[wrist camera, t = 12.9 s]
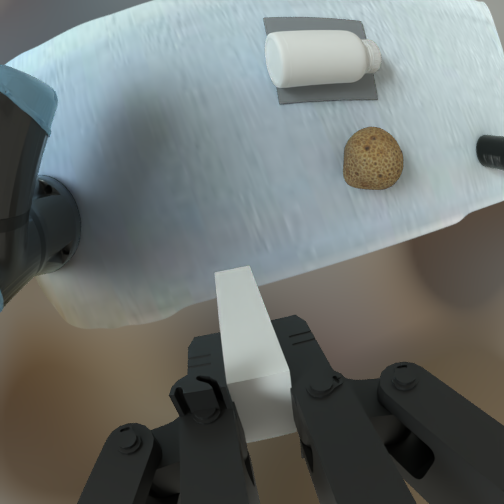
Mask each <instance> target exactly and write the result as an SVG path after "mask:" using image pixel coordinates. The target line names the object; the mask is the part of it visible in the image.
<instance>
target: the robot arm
mask: <svg viewBox="0 0 504 504" xmlns="http://www.w3.org/2000/svg"><path fill="white" fill-rule="evenodd" d="M57 104H58V98H57V95H56V92H55V91H54V90H53V89H52V88H51V87H50V86H49V85H48V84H46V83H44V82H43V81H41V80H39V79H37V78H35V77H33V76H31V75H29V74H26V73H24V72H22V71H19V70H17V69H14V68H12V67H9V66H6V65H0V312H1V311H2V309H3V308H4V306H5V305H6V304H7V303H8V302H9V301H10V300H11V299H12V298H13V297H14V296H15V295H16V294H17V293H18V292H19V291H20V290H21V289H22V288H23V287H24V286H25V285H26V284H27V283H28V282H29V281H30V280H31V279H32V278H33V277H34V276H37V275H42V274H46V273H51V272H53V271H56V270H57V269H59V268H61V267H62V266H63V265H64V264H65V263H66V262H67V261H68V260H69V259H70V258H71V257H72V256H73V254H74V253H75V251H76V249H77V246H78V243H79V239H80V233H81V222H80V215H79V211H78V208H77V205H76V203H75V201H74V199H73V197H72V195H71V194H70V192H69V191H68V190H67V189H66V187H65V186H64V185H63V184H61V183H60V182H59V181H57V180H55V179H53V178H51V177H48V176H42V175H38V172H39V168H40V164H41V160H42V157H43V153H44V149H45V146H46V143H47V139H48V137H50V134H51V130H50V128H51V125H52V121H53V118H54V114H55V111H56V108H57ZM214 274H215V284H216V294H217V304H218V313H219V323H220V332H219V333H214V334H210V335H204V336H198V337H194V339H193V341H192V342H191V344H190V346H189V347H188V375H186V376H185V377H183V378H181V379H180V380H178V381H177V382H176V383H175V384H174V385H173V386H172V388H171V391H170V394H169V396H170V398H171V400H172V402H173V404H174V406H175V408H176V410H177V412H178V414H179V417H178V418H177V419H175V420H174V421H173V422H171V423H169V424H167V425H164V426H161V427H159V428H156V429H153V430H149V429H148V428H147V427H146V426H144V425H141V424H138V423H128V424H125V425H122V426H119V427H118V428H117V429H115V430H114V431H113V432H112V433H111V434H110V435H109V437H108V438H107V440H106V442H105V444H104V446H103V448H102V451H101V453H100V455H99V457H98V459H97V461H96V463H95V465H94V468H93V470H92V472H91V474H90V476H89V478H88V481H87V483H86V485H85V487H84V489H83V492H82V494H81V496H80V499H79V501H78V503H77V504H260V500H259V496H258V491H257V487H256V482H255V478H254V472H253V467H252V463H251V458H250V455H249V452H248V449H247V444H246V443H249V442H254V441H259V440H264V439H269V438H273V437H278V436H282V435H286V434H290V433H294V432H296V428H297V431H298V434H299V437H300V444H301V455H302V458H305V461H306V464H307V467H308V470H309V473H310V476H311V478H312V481H313V484H314V487H315V490H316V493H317V496H318V498H319V502H320V504H416V502H415V500H414V498H413V496H412V495H411V493H410V491H409V489H408V487H407V485H406V483H405V482H404V480H405V481H406V482H408V484H410V486H412V487H413V488H414V489H415V490H416V491H417V492H418V493H419V494H420V495H421V496H422V497H423V498H424V499H425V500H426V501H427V502H428V503H429V504H504V426H503V425H502V424H500V423H499V422H497V421H496V420H495V419H493V418H492V417H491V416H489V415H488V414H486V413H485V412H484V411H482V410H481V409H480V408H478V407H477V406H475V405H474V404H473V403H471V402H470V401H468V400H467V399H466V398H464V397H463V396H462V395H460V394H458V393H457V392H456V391H454V390H453V389H452V388H450V387H449V386H448V385H446V384H445V383H443V382H442V381H441V380H439V379H438V378H436V377H435V376H433V375H432V374H431V373H429V372H428V371H427V370H425V369H424V368H422V367H421V366H418V365H416V364H414V363H408V362H400V363H394V364H392V365H390V366H388V367H387V368H386V369H385V370H383V371H382V373H381V376H380V378H378V379H367V380H352V379H347V378H345V377H344V376H343V375H342V374H341V373H338V372H336V371H334V370H333V369H332V368H331V366H330V364H329V362H328V360H327V358H326V357H325V355H324V353H323V351H322V350H321V348H320V346H319V344H318V342H317V341H316V340H315V337H314V335H313V334H312V332H311V330H310V328H309V327H308V325H307V323H306V321H304V320H303V319H301V318H300V317H298V316H296V315H292V316H289V317H284V318H280V319H275V320H271V321H270V318H269V316H268V313H267V310H266V308H265V305H264V302H263V300H262V297H261V295H260V292H259V289H258V287H257V284H256V281H255V279H254V276H253V274H252V271H251V268H250V266H249V265H248V266H244V267H239V268H234V269H229V270H224V271H219V272H214ZM403 479H404V480H403Z"/></svg>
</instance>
